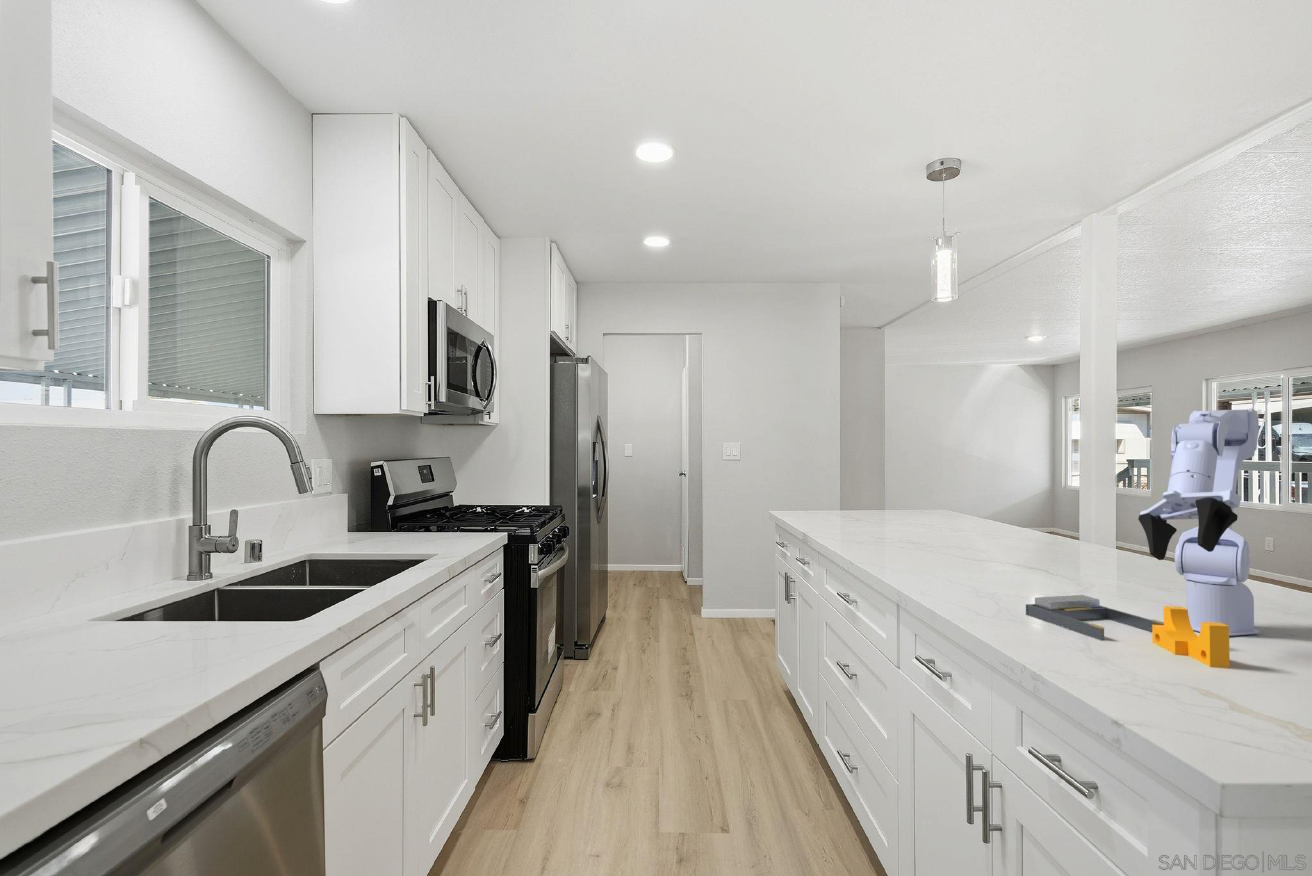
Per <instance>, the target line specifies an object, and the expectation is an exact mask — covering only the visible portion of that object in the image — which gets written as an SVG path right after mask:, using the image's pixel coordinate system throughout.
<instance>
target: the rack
mask: <svg viewBox="0 0 1312 876" xmlns="http://www.w3.org/2000/svg"><path fill="white" fill-rule="evenodd" d="M1025 615H1027V616H1029V615H1030V616H1029V617H1032V618H1035V619H1036V620H1037V619H1038V620H1040V619H1041V621H1044V622H1045V623H1050V624H1052V623H1053V625H1055V624H1056V625H1055V626H1058V625H1059V627H1061V626H1063V627H1062V628H1064V629H1067V628H1068V630H1071V631H1073V630H1074V631H1073V632H1076V633H1078V634H1082V633H1083V634H1082V635H1085V636H1087V635H1088V637H1090V636H1091V638H1093V637H1094V639H1096V640H1099V639H1100V641H1105V627H1104V626H1101V625H1098V624H1095V623H1088V622H1085V621H1091V620H1090V619H1093V620H1103V619H1104V620H1105V619H1107V620H1109V621H1112V622H1113V621H1114V622H1117V623H1121V624H1124V625H1126V624H1127V626H1129V627H1130V626H1131V627H1134V628H1137V629H1140V630H1143V631H1146V632H1150V633H1152V625H1164V621H1161V620H1156V619H1149V618H1146V617H1143V616H1139V615H1134V614H1133V613H1127V612H1125V611H1121V610H1117V609H1114V608H1110V607H1108V606H1107V607H1106V606H1104V605H1100V599H1098V598H1095V597H1092V596H1087V595H1084V594H1079V595H1078V594H1077V595H1076V594H1075V595H1059V596H1058V595H1057V596H1042V597H1040V596H1039V597H1034V603H1030V604H1028V603H1026V604H1025Z"/></svg>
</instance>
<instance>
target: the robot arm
mask: <svg viewBox="0 0 1312 876" xmlns="http://www.w3.org/2000/svg"><path fill="white" fill-rule="evenodd" d="M1188 418H1189V419H1188V423H1179V424H1178V426H1173V428H1172V432H1171V434H1170V435H1171V436H1170V437H1171V439H1170V441H1171V442H1170V443H1171V449H1170V457H1171V460H1172V461H1171V467H1170V471H1169V472H1170V474H1169V479H1168V484H1167V491H1164V492H1163V493H1162V498H1163V499H1161V500H1160V501H1158V502H1157V503H1154V504H1153V505H1152V506H1151V507H1149V508H1147V509H1145V510H1142V511H1140V512H1139V513H1140V514H1139V516H1138V522H1139V523H1140V526H1141V527H1142V529H1143V531H1144V533H1145V536H1146V540H1147V545H1148V549H1149V554H1150V555H1151V556H1152V557H1153V558H1155V559H1157V560H1158V561H1163V560H1164V559H1165V557H1166V556H1167V552H1168V551H1167V550H1168V546H1169V543H1170V541H1171V539H1172V538H1173V536H1174V535H1175V534H1176V532H1177V531H1178V529H1177V528H1176V527H1174V526H1172V524H1170V523H1169V522H1168V520H1198V526H1196V527H1193V528H1191V529H1188V530H1187V531H1184V532H1182V533H1181V535H1180V536H1179V539H1178V543H1177V544H1176V547H1175V549H1174V566H1175V571H1176V572H1177V573H1178V574H1179V575H1180V576H1183V580H1186V581H1185V582H1186V587H1185V588H1186V589H1185V590H1186V594H1185V595H1186V609H1187V610H1188V616H1189V621H1190V624H1191V626H1192V629H1193V631H1194V632H1199V633H1200V631H1201V622H1213V623H1222V624H1225V625H1227V626H1229V637H1231V636H1244V635H1246V636H1248V635H1259V634H1260V630H1257V629H1255V606H1254V605H1255V604H1254V603H1255V600H1254V594H1253V593H1252V591H1251V589H1250V587H1248V585H1247V584H1245V581H1247V580H1248V579H1249V576H1250V562H1251V561H1250V548H1249V547H1250V546H1249V543H1248V542H1247V540H1246V538H1245V537H1244V536H1242V535H1240V534H1239V533H1237V532H1235V531H1234V530H1232V526H1233V524H1234V523H1236V521H1238V514H1237V513H1236V512H1234V510H1235V508H1239V507H1240V506H1241V505H1240V504H1241V495H1239V494H1237V484H1238V478H1239V477H1238V476H1239V473H1240V469H1241V466H1243V465H1242V464H1243V462H1244V461H1245V460H1248V459H1250V458H1253V457H1254V456H1255V454H1256V453H1255V451H1257V449H1258V440H1259V433H1260V432H1259V430H1260V427H1259V426H1260V425H1259V421H1260V420H1259V413H1258V411H1257V410H1256V409H1255V408H1252V407H1251V408H1247V409H1221V410H1220V409H1219V410H1215V409H1214V410H1198V409H1197V410H1196V409H1195V410H1193V411H1192V412H1191V413H1190V415H1189V417H1188Z"/></svg>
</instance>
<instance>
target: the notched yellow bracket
mask: <svg viewBox="0 0 1312 876" xmlns="http://www.w3.org/2000/svg"><path fill="white" fill-rule="evenodd" d="M1163 622H1164V625H1152V632H1151V633H1152V634H1151V636H1152V637H1151V638H1152V639H1151V640H1152V644H1154V643H1155V644H1154V645H1156V644H1157V645H1156V646H1158V647H1160V648H1162V649H1163V648H1164V649H1163V650H1165V649H1166V651H1167V650H1168V651H1167V652H1169V651H1170V652H1169V653H1171V652H1172V653H1171V654H1173V655H1174V656H1188V655H1189V656H1188V657H1190V656H1191V657H1190V658H1191V659H1194V658H1195V659H1194V660H1196V661H1197V660H1198V661H1197V662H1199V661H1200V663H1201V662H1202V663H1201V664H1203V665H1205V664H1206V666H1207V665H1208V666H1207V667H1209V668H1218V667H1227V668H1226V669H1230V667H1231V666H1230V663H1231V662H1230V661H1231V660H1230V658H1231V657H1230V636H1229V626H1227V625H1225V624H1222V623H1213V622H1201V631H1200V632H1199V634H1198V635H1197V634H1196V631H1195V630H1193V629H1192V626H1191V624H1190V621H1189V616H1188V610H1187V608H1184V607H1182V606H1173V605H1172V606H1168V605H1164V606H1163Z"/></svg>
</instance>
